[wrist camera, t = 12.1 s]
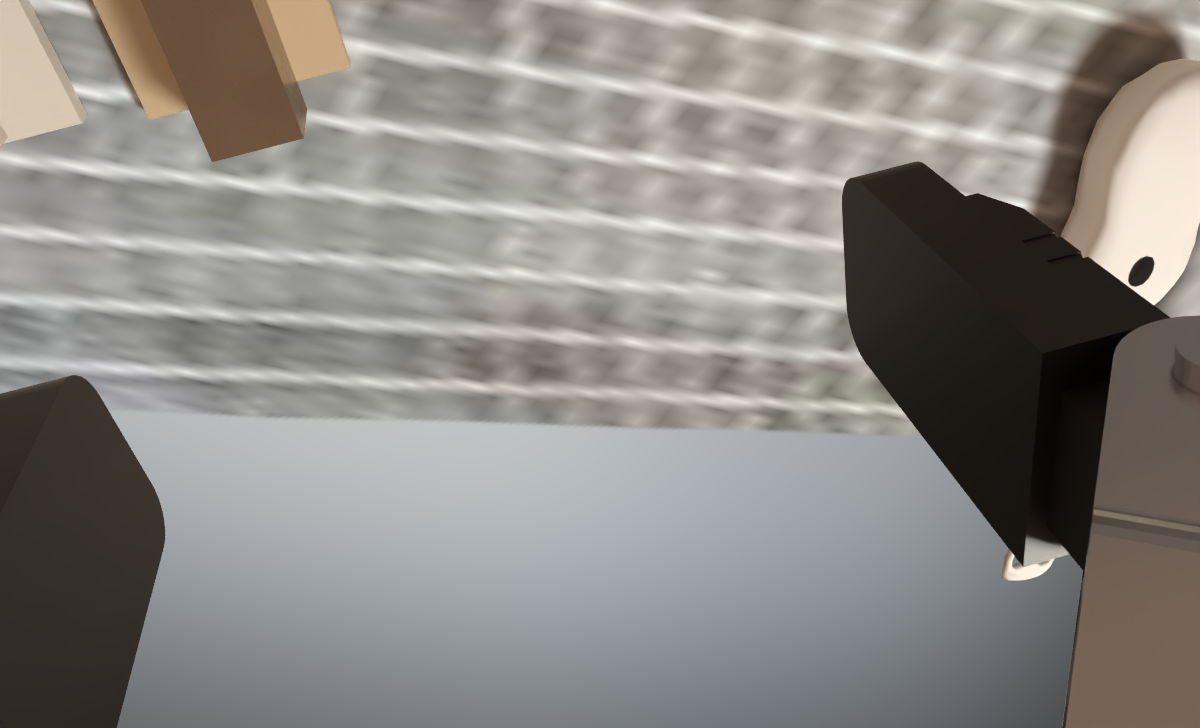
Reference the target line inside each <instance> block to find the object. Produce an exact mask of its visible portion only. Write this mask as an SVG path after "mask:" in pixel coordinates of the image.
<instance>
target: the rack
mask: <svg viewBox="0 0 1200 728" xmlns="http://www.w3.org/2000/svg"><path fill="white" fill-rule="evenodd" d="M86 117H87V114H86V112H85V110H84V108H83V106H82V104H81V102H80V100H79V98H78V96H77V94H76V92H75V90H74V88H73V86H72V84H71V82H70V80H69V78H68V76H67V75H66V73H65V71H64V69H63V67H62V65H61V63H60V61H59V59H58V57H57V55H56V53H55V51H54V49H53V47H52V45H51V43H50V41H49V39H48V37H47V35H46V34H45V32H44V30H43V28H42V26H41V24H40V22H39V20H38V18H37V16H36V14H35V12H34V10H33V8H32V6H31V4H30V2H29V0H0V146H1V145H2V144H4V143H8V142H12V141H15V140H19V139H23V138H27V137H31V136H35V135H39V134H42V133H46V132H50V131H54V130H58V129H62V128H66V127H69V126H73V125H77V124H81V123H83V121H84V120H85V118H86Z"/></svg>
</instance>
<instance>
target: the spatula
mask: <svg viewBox="0 0 1200 728" xmlns="http://www.w3.org/2000/svg"><path fill="white" fill-rule="evenodd" d="M1199 222H1200V61H1194V60H1188V59H1177V60H1173V61H1168V62H1163V63H1159V64H1158V65H1156V66H1155V67H1153V68H1152V69H1150V70H1149V71H1147V72H1146V73H1144V74H1143V75H1141V76H1139V77H1138V78H1136V79H1134V80H1132V81H1130V82H1129V83H1127V84H1125V85H1123V86H1122V87H1121V88H1120V90H1119V91H1118V92H1117V94H1116V95H1115V96H1114V98H1113V99H1112V100H1111V102H1110V103H1109V105H1108V106H1107V107H1106V109H1105V110H1104V111H1103V113H1102V114H1101V116H1100V117H1099V118H1098V120H1097V122H1096V125H1095V127H1094V130H1093V132H1092V135H1091V138H1090V140H1089V143H1088V145H1087V148H1086V150H1085V153H1084V156H1083V161H1082V166H1081V170H1080V175H1079V180H1078V185H1077V191H1076V197H1075V204H1074V206H1073V209H1072V211H1071V214H1070V216H1069V219H1068V221H1067V223H1066V225H1065V227H1064V229H1063V231H1062V233H1061V236H1060V237H1062V238H1064V239H1065V240H1066V241H1068V242H1069V243H1070V244H1072V245H1073V246H1074V247H1076V248H1077V249H1078V250H1080V251H1081V254H1082V257H1083V258H1085V257H1089V258H1091V259H1092V260H1093V261H1095V262H1096V263H1097V264H1099V265H1100V266H1101V267H1103V268H1104V269H1105V270H1107V271H1108V272H1109V273H1111V274H1112V275H1113V276H1115V277H1116V278H1118V279H1119V280H1120V281H1122V282H1123V283H1124V284H1126V285H1127V286H1128V287H1130V288H1131V289H1132V290H1134V291H1135V292H1136V293H1138V294H1139V295H1140V296H1142V297H1143V298H1144V299H1146V300H1147V301H1149V302H1150V303H1151V304H1153V305H1155V304H1156V303H1157V302H1158V301H1160V300H1161V299H1162V298H1163V297H1164V295H1165V294H1166V293H1167V292H1168V291H1169V290H1170V289H1171V288H1172V286H1173V285H1174V284H1175V283H1176V281H1177V280H1178V278H1179V277H1180V275H1181V274H1182V273H1183V271H1184V270H1185V267H1186V264H1187V262H1188V259H1189V257H1190V254H1191V252H1192V249H1193V246H1194V244H1195V240H1196V234H1197V229H1198V226H1199ZM1013 558H1014V555H1013V553H1012V552H1011V551H1010V549H1009V550H1008V552H1007V554H1006V556H1005V561H1004V566H1003V571H1002V578H1004V579H1006V580H1026V579H1030V578H1034V577H1037V576H1039V575H1041V574H1043V573H1044V572H1045V571H1046V570H1047V569H1048V568H1049V567H1050V566H1051V564H1052V562H1053V560H1054V559H1051V560H1047V561H1043V562H1040V563H1036V564H1033V565H1029V566H1026V567H1023V566H1022V565H1021V564H1020V562H1018V563H1016V564H1015V565H1012V560H1013Z"/></svg>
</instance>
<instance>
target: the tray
mask: <svg viewBox="0 0 1200 728" xmlns="http://www.w3.org/2000/svg"><path fill="white" fill-rule="evenodd" d="M92 1H93V3H94V5H95V7H96V9H97V11H98V13H99V15H100V17H101V20H102V22H103V24H104V26H105V28H106V30H107V32H108V34H109V36H110V38H111V41H112V43H113V45H114V47H115V49H116V51H117V53H118V55H119V57H120V59H121V62H122V64H123V66H124V68H125V70H126V72H127V74H128V76H129V78H130V81H131V83H132V85H133V87H134V89H135V91H136V93H137V95H138V97H139V99H140V102H141V104H142V106H143V108H144V110H145V112H146V114H147V116H148V118H149V120H151V119H155V118H159V117H163V116H166V115H170V114H174V113H178V112H182V111H186V110H189V108H188V106H187V104H186V102H185V99H184V97H183V95H182V93H181V90H180V88H179V86H178V84H177V81H176V79H175V77H174V75H173V72H172V70H171V68H170V66H169V63H168V61H167V59H166V57H165V54H164V52H163V50H162V47H161V45H160V43H159V41H158V38H157V36H156V34H155V32H154V29H153V27H152V25H151V23H150V20H149V18H148V16H147V14H146V11H145V9H144V7H143V5H142V2H141V0H92ZM267 3H268V5H269V8H270V11H271V13H272V16H273V19H274V21H275V24H276V27H277V30H278V32H279V35H280V38H281V40H282V43H283V46H284V48H285V51H286V54H287V56H288V59H289V62H290V65H291V67H292V70H293V73H294V75H295V78H296V81H301V80H305V79H309V78H313V77H316V76H320V75H324V74H328V73H332V72H336V71H340V70H343V69H347V68H350V60H349V57H348V54H347V51H346V48H345V45H344V43H343V40H342V37H341V34H340V31H339V28H338V25H337V22H336V19H335V16H334V13H333V10H332V7H331V4H330V2H329V0H267Z"/></svg>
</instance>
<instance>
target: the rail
mask: <svg viewBox="0 0 1200 728" xmlns="http://www.w3.org/2000/svg"><path fill="white" fill-rule="evenodd" d="M141 2H142V5H143V7H144V9H145V11H146V14H147V16H148V18H149V20H150V23H151V25H152V27H153V29H154V32H155V34H156V36H157V38H158V41H159V43H160V45H161V47H162V50H163V52H164V54H165V57H166V59H167V61H168V63H169V66H170V68H171V70H172V72H173V75H174V77H175V79H176V81H177V84H178V86H179V88H180V90H181V93H182V95H183V97H184V99H185V102H186V104H187V106H188V108H189V111H190V113H191V115H192V117H193V120H194V122H195V124H196V127H197V129H198V131H199V133H200V136H201V138H202V140H203V142H204V145H205V147H206V149H207V151H208V154H209V156H210V158H211V160H212V162H214V161H218V160H222V159H226V158H230V157H233V156H237V155H241V154H245V153H249V152H253V151H257V150H260V149H264V148H268V147H272V146H276V145H280V144H284V143H288V142H291V141H295V140H299V139H303V138H304V131H305V123H306V114H307V108H306V105H305V102H304V100H303V97H302V94H301V91H300V89H299V86H298V83H297V81H296V78H295V75H294V73H293V70H292V67H291V65H290V62H289V59H288V56H287V54H286V51H285V48H284V46H283V43H282V40H281V38H280V35H279V32H278V30H277V27H276V24H275V21H274V19H273V16H272V13H271V11H270V8H269V5H268V3H267V0H141Z"/></svg>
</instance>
